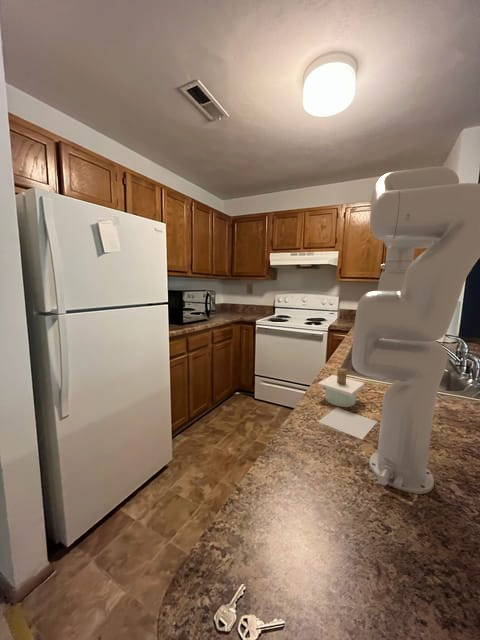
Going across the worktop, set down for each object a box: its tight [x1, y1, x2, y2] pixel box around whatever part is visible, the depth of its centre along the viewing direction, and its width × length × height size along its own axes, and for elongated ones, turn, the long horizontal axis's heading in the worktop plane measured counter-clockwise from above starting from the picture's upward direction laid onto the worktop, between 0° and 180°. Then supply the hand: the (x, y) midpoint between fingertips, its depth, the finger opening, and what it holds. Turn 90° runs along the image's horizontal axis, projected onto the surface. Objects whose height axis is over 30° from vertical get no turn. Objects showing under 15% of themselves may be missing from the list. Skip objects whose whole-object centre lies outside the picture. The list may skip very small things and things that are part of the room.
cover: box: [317, 367, 366, 396], centre depth 95 cm, size 12×12×6 cm
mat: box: [317, 406, 378, 440], centre depth 82 cm, size 13×13×1 cm
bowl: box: [324, 388, 358, 408], centre depth 96 cm, size 10×10×6 cm
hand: (393, 321), depth 87 cm, fingers open, 9 cm apart
